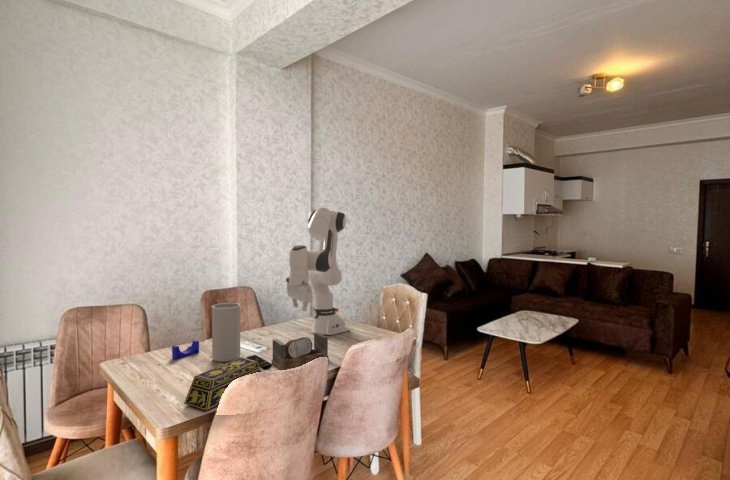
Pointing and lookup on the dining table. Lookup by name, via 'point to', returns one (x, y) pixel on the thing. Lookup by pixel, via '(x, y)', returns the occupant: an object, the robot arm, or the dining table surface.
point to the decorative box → (217, 382)
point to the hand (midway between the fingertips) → (299, 309)
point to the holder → (285, 363)
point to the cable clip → (189, 351)
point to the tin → (298, 347)
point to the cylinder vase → (225, 332)
